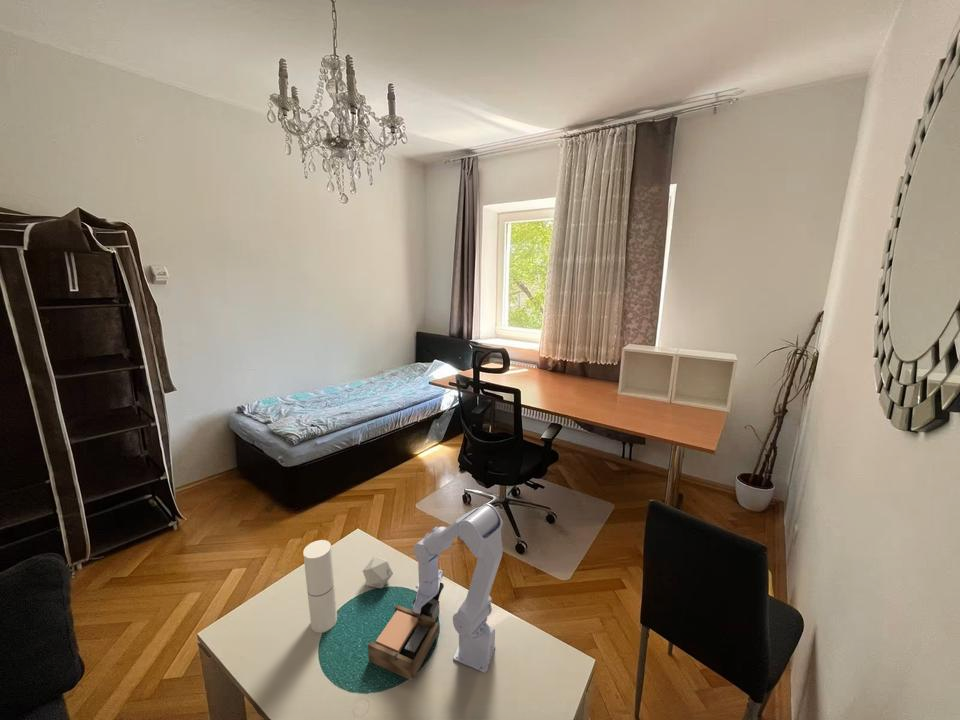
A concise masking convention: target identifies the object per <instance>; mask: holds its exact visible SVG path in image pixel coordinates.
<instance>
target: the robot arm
mask: <svg viewBox="0 0 960 720" xmlns="http://www.w3.org/2000/svg"><path fill="white" fill-rule="evenodd" d="M503 524H504V521H503V519H502V517H501V515H500V512H499V510H498V509H497V508H496V507H495V506H494V505H493V504H490V503H483V504H482V505H481V506H478V507H476V508H473V509H471V510H470V511H468V512H466V513H465V514H463V515H461V516H460V517H459V518H458V519H456V520H455V521H453V523H451V524H450V525H449V526H439V527H438V526H435V527H434V528H432V529H431V533H429V532H427V533H426V534H425V535H424V536H423V538H422V539H421V540H419V541H418V542H416V543H414V544H415V545H413V554H414V556H415V558H416V560H417V563H418V564H417V565H418V566H417V567H418V581H417V583H416V584H415V588H416V589H417V592H416V597H415V599H414V600H413V602H412V603H413V604H412V605H413V606H412V610H413V612H415V613H418V614H420V613H422V614H423V615H426V616H428V617H430V610H431V607H432V606H433V604H431V603H428V601H430V600H431V599H435V600H438V601H440V595H441V594H442V591H443V589H444V587H445V584H444V583H443V582H441V581H442V578H443V577H444V571H443V570H441V569H439V558H440V556H441V555H440V554H441V553H442V552H444V551H445V550H447V549H449V548H450V547H451V545H452V544H453V540H454V539H455V538H457V537H458V538H459V539H460V541H463V542H464V544H465V545H466V546H467V548H468V549H469V550H470V553H472V555H473V557H474V558H477V561H476V564H475V568H474V571H473V575H472V578H471V581H470V585H469V588H468V591H467V594H466V598H465V599H464V601H463V602H462V604H461V605H460V607H459V608H458V611H457V612H456V613H454V614H453V616H452V623H453V627H454V629H455V631H456V633H457V634H458V646H457V648H456V650H455V653H454V654H453V658H452V659H453V660H454V661H456V662H459V663H461V664H463V665H466V666H468V667H470V668H473V669H475V670H477V671H480V672H482V673H487V671H488V669H489V666H490V662H491V661H492V658H493V654H494V652H495V649H496V629H495V628H493V627H491V625H489V624H488V623H487V621H488V616H490V615H491V613H492V611H493V610H492V609H493V608H492V600H493V599H492V597H491V595H490V593H491V590H492V588H493V584H494V581H495V580H496V579H495V578H496V575H497V574H498V573H497V572H498V569H499V566H500V563H501V560H502V557H503V553H504V551H503V541H502V540H503V539H502V528H503Z"/></svg>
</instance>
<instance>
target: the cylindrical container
mask: <svg viewBox="0 0 960 720" xmlns="http://www.w3.org/2000/svg"><path fill="white" fill-rule="evenodd" d="M332 553H333V552H332V544H331V543H330V541H328V540H326V539H319V540H315V541H312V542H310V543H308V544H307V545H306V546H305V547H304V549H303V553H302V554H303V563H304V572H305V580H306V581H305V582H306V590H307V600H308V608H309V618H310V627H311V630H312V631H313V632H314V633H319V634H321V633H327V632H328V631H330V630H331V629H332V628H333V627H334V626H335V625H336V623H337V620H338V613H337V601H336V591H335V590H336V589H335V588H336V587H335V578H334V566H333V565H334V564H333V554H332Z"/></svg>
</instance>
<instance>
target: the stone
mask: <svg viewBox="0 0 960 720" xmlns="http://www.w3.org/2000/svg"><path fill="white" fill-rule="evenodd" d="M428 603H431V604H433V606H432V607H431V610H430V617H431V618H433V619H436V620H437V618H438V617H439V615H440V600H435V599H431V600H430V601H428Z"/></svg>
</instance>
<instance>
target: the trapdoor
mask: <svg viewBox="0 0 960 720" xmlns="http://www.w3.org/2000/svg"><path fill="white" fill-rule="evenodd" d="M417 622H418V618H416V617H413V616H411V615H408V614H406V613H403V612H400V611H398V610H397V611H396V612H395V611H394V614H393V615H392V617H391V618H390V620H389V621H388V623H387V624H386V625H385V627H384V628H383V630H382V631H381V633H380V634H379V636H378V637H377V638H376V639H375V643H376V644H378V645H380V646H383V647H385V648H387V649H389V650H392V651H394V652H398V653H399V654H400V652H401V650H402V649H403V647H404V656H407V657H409V658H411V659H412V658H413V659H414V658H415V657H416V655H417V653H418V651H419V650H420V648H421V646H422V644H423V642H424V641H425V639H426V637H427V635H428V629H426V628H423V627H421V626H418V627H417V628H416V630H413V629H414V627H415V626H416V624H417ZM413 631H414V632H413ZM411 634H412V635H411ZM410 635H411V636H410ZM409 637H410V639H409ZM408 639H409V640H408ZM407 640H408V641H407ZM406 642H407V643H406ZM405 644H406V645H405Z"/></svg>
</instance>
